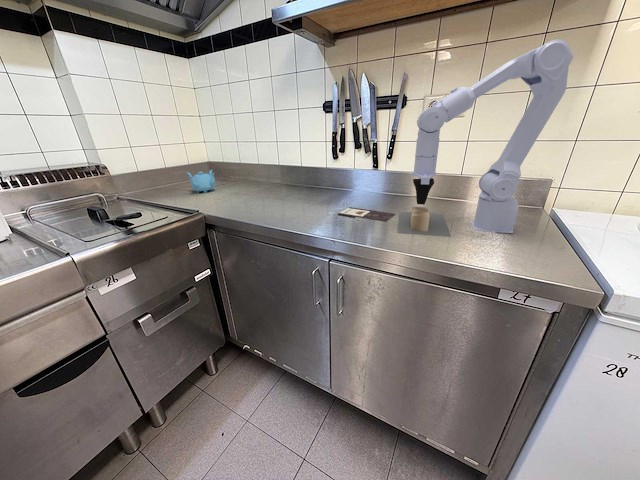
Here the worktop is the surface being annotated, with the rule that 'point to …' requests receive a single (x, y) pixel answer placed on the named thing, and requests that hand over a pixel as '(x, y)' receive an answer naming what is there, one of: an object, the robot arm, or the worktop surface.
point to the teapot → (202, 181)
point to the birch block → (419, 219)
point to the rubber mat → (434, 228)
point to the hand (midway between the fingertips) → (420, 203)
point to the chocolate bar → (366, 214)
